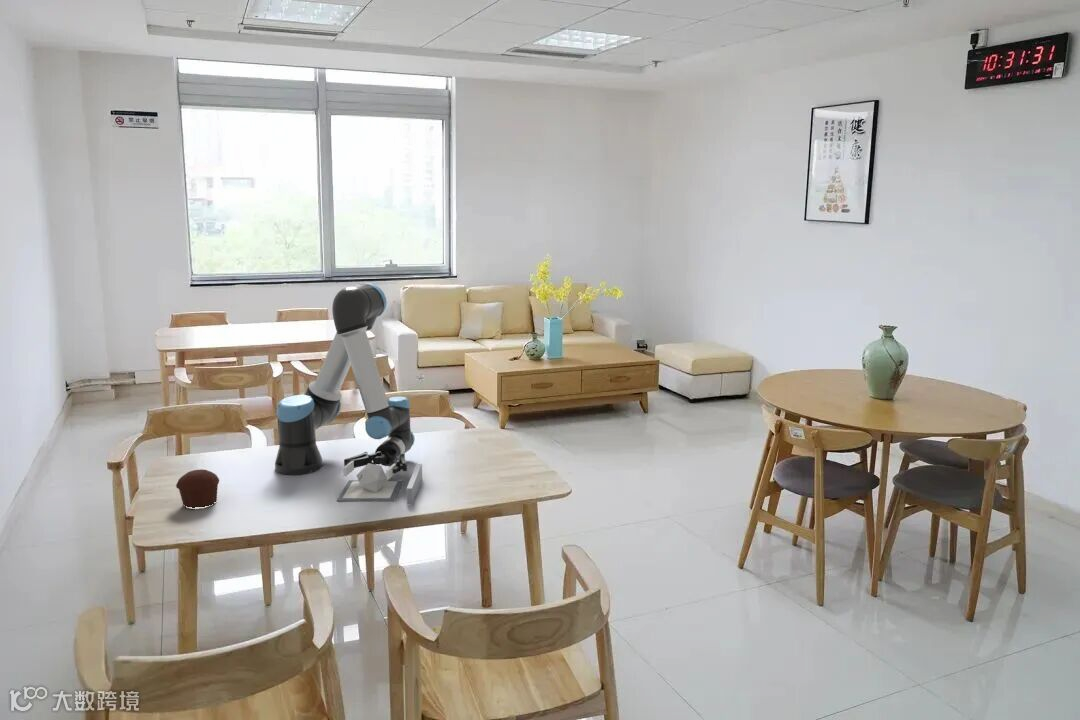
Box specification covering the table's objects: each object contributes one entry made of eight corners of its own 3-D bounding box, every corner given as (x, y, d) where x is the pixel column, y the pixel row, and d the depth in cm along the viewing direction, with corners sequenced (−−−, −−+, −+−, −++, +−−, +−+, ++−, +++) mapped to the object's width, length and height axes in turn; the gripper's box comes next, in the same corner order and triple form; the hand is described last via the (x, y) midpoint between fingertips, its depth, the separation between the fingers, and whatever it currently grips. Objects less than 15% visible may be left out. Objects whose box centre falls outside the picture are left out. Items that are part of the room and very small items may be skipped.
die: (362, 486, 248) (348, 468, 241) (386, 470, 249) (373, 452, 243) (371, 503, 242) (357, 485, 235) (395, 487, 244) (382, 468, 237)
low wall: (407, 504, 233) (406, 488, 232) (417, 478, 255) (416, 463, 254) (412, 504, 233) (412, 488, 232) (422, 478, 255) (421, 463, 254)
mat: (336, 501, 235) (336, 499, 235) (349, 481, 252) (348, 479, 252) (394, 501, 235) (393, 499, 235) (402, 481, 252) (402, 479, 252)
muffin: (215, 494, 241) (213, 462, 239) (226, 505, 232) (223, 472, 230) (173, 502, 234) (170, 470, 232) (182, 514, 225) (179, 481, 223)
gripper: (427, 464, 258) (406, 487, 238) (354, 460, 262) (327, 483, 242) (426, 442, 257) (405, 463, 236) (353, 438, 261) (326, 459, 240)
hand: (365, 473), depth 239 cm, fingers open, 13 cm apart
